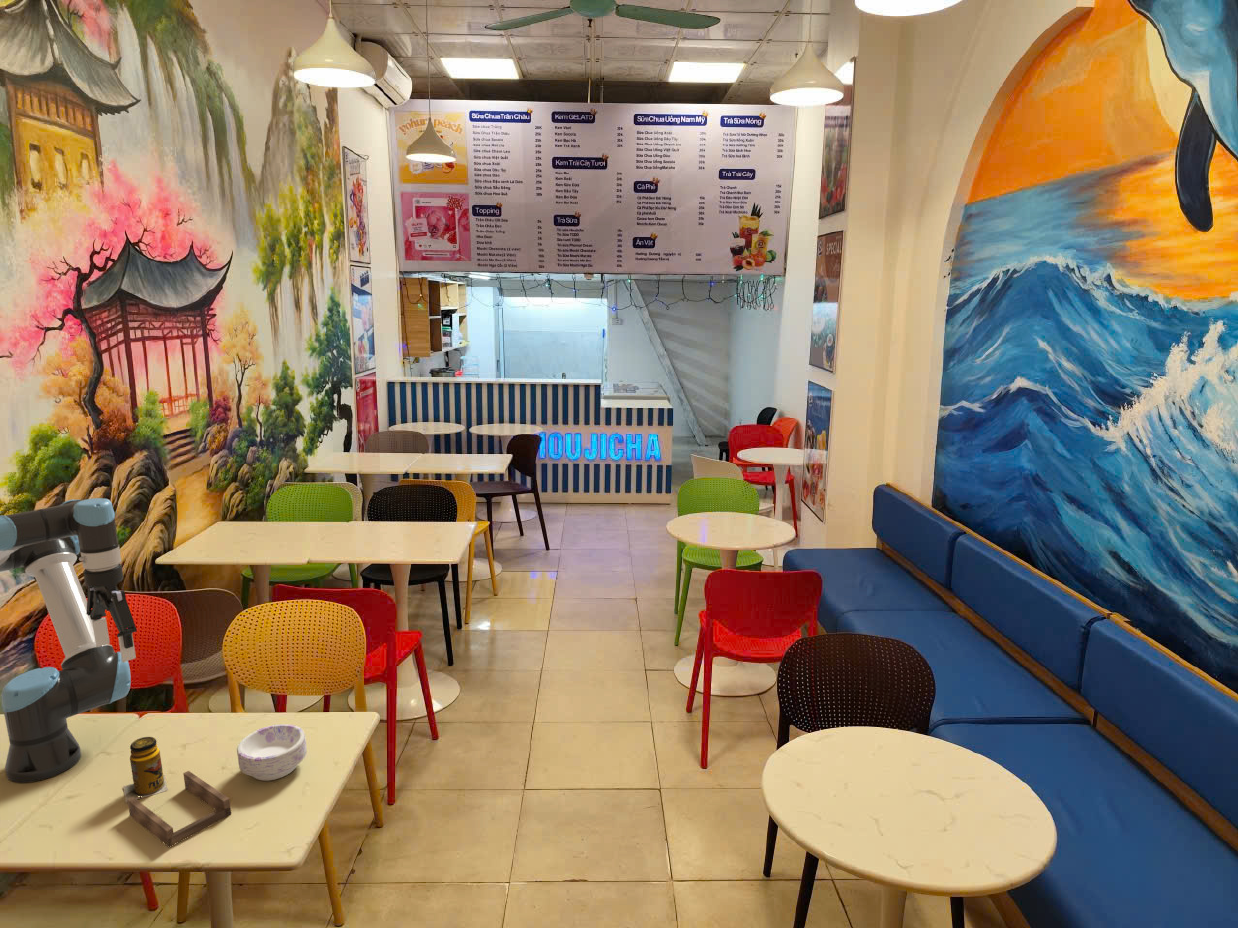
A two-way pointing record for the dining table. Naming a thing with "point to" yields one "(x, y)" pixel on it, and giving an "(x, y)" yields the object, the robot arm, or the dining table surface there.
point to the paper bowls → (272, 751)
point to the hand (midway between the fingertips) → (115, 652)
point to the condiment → (145, 769)
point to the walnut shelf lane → (170, 838)
